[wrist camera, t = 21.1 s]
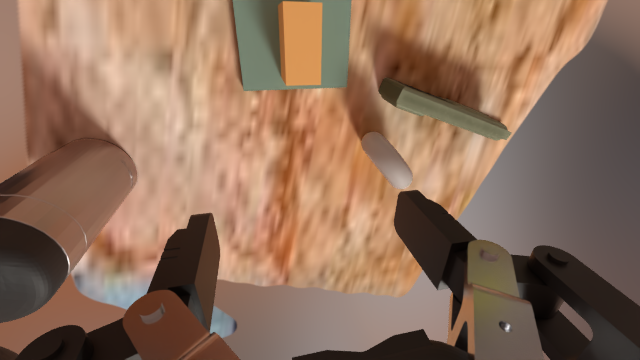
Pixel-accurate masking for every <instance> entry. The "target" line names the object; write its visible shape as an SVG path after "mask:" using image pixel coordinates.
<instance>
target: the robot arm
mask: <svg viewBox="0 0 640 360" xmlns="http://www.w3.org/2000/svg"><path fill="white" fill-rule="evenodd" d="M136 181H137V171H136V167H135V165H134V163H133V161H132V160H131V158H130V157H129V156H128V155H127V154H126V153H125V152H124V151H123V150H121V149H120V148H118V147H117V146H115V145H113V144H111V143H108V142H106V141H102V140H98V139H79V140H75V141H72V142H70V143H68V144H67V145H65V146H63V147H62V148H60V149H59V150H57V151H55V152H50V153H49V154H47V155H46V156H44V157H42V158H41V159H39V160H37V161H36V162H34V163H33V164H31V165H29V166H28V167H26V168H25V169H23V170H22V171H20V172H18V173H17V174H15V175H13V176H12V177H10V178H9V179H7V180H5V181H4V182H2V183H0V323H3V322H8V321H12V320H16V319H19V318H22V317H25V316H27V315H29V314H31V313H33V312H35V311H37V310H38V309H40V308H41V307H42V306H43V305H45V304H46V303H47V302H48V301H49V300H50V299H51V298H52V296H53V295H54V294H55V293H56V291H57V290H58V289H59V288H60V286H61V285H62V283H63V282H64V281H65V279H66V278H67V277H68V275H69V274H70V273H71V271H72V270H73V269H74V267H75V266H76V265H77V263H78V262H79V261H80V259H81V258H82V256H83V255H84V254H85V252H86V251H87V250H88V248H89V247H90V246H91V244H92V243H93V241H94V240H95V239H96V237H97V236H98V235H99V233H100V232H101V231H102V229H103V228H104V227H105V225H106V224H107V223H108V221H109V220H110V218H111V217H112V216H113V214H114V213H115V212H116V210H117V209H118V208H119V206H120V205H121V204H122V202H123V201H124V200H125V198H126V197H127V195H128V194H129V193H130V191H131V190H132V189H133V187H134V186H135V184H136ZM394 226H395V230H396V232H397V234H398V235H399V237H400V238H401V239H402V241H403V242H404V244H405V245H406V246H407V248H408V249H409V251H410V252H411V254H412V255H413V256H414V258H415V259H416V261H417V262H418V263H419V265H420V266H421V268H422V269H423V270H424V272H425V273H426V275H427V276H428V278H429V279H430V280H431V282H432V283H433V285H434V286H435V287H436V289H437V290H442V289H447V288H450V290H451V291H452V294H451V296H450V308H449V324H448V338H447V344H446V343H443V342H439V341H434V340H429V338H428V337H427V335H426V333H425V331H424V330H423V329H421V330H417V331H412V332H408V333H403V334H398V335H394V336H392V337H390V338H388V339H386V340H385V341H383V342H381V343H379V344H378V345H376V346H374V347H372V348H370V349H369V350H367V351H364V352H351V351H331V350H325V351H321V352H316V353H312V354H307V355H303V356H298V357H294V358H292V360H544V356H543V351H544V353H546V355H547V356H548V357H549V358H550V360H640V306H639V305H637V304H636V303H635V302H633V301H632V300H631V299H629V298H628V297H627V296H625V295H624V294H623V293H621V292H620V291H619V290H617V289H616V288H615V287H613V286H612V285H611V284H610V283H608V282H607V281H606V280H604V279H603V278H602V277H600V276H599V275H598V274H596V273H595V272H594V271H592V270H591V269H590V268H588V267H587V266H586V265H584V264H583V263H582V262H580V261H579V260H578V259H576V258H575V257H574V256H572V255H571V254H569V253H567V252H565V251H563V250H561V249H558V248H555V247H551V246H537V247H535V248H534V250H533V251H532V253H531V256H520V255H510V254H509V253H508V251H506V250H505V249H504V248H503V247H501V246H499V245H498V244H495V243H493V242H489V241H486V240H477V239H476V238H475V237H474V236H472V234H471V233H469V232H468V231H467V230H466V229H465V228H464V227H463V226H462V225H461V224H460V223H459V222H458V221H457V220H455V219H454V217H453V216H451V215H450V214H448V212H447V211H446V210H445V209H444V208H443V207H442V206H441V205H439V204H437V203H435V202H434V201H432V200H430V199H429V200H428V199H427V198H426V197H425V196H424V195H423V194H422V193H421V192H420V191H418V190H412V191H403V192H400V193H399V195H398V200H397V206H396V212H395V218H394ZM219 261H220V246H219V240H218V236H217V231H216V227H215V222H214V218H213V214H212V213H205V214H197V215H191V217H190V219H189V223H188V226H187V229H179V230H177V231H176V232H175V233H174V234H173V235H172V236H171V237H170V238H169V239H168V241H167V243H166V246H165V248H164V252H163V253H162V256H161V261H159V264H158V266H157V269H156V271H155V274H154V276H153V279H152V281H151V284H150V286H149V289H148V291H147V294H146V295H144V296H142V297H141V298H139V299H138V300H136V301H135V302H134V303H133V304H132V305H131V306H130V307H129V308H128V310H127V311H126V313H125V315H124V317H123V318H121V319H119V320H117V321H115V322H113V323H111V324H108V325H106V326H103V327H101V328H99V329H96V330H93V331H91V332H89V333H86V332H85V331H84V330H83V328H81V327H80V326H76V325H68V326H63V327H59V328H56V329H53V330H51V331H49V332H47V333H45V334H43V335H41V336H40V337H38V338H37V339H35V340H34V341H33V342H31V343H30V344H29V345H28V346H27V347H26V348H24V349H23V350H22V352H21V353H20V354H19V355H18V354H17V353H15V352H13V351H10V350H9V349H6V348H3V347H0V360H240V359H239V357H238V356H237V355H236V354H235V353H234V352H233V351H232V349H231V348H230V347H229V346H228V345H227V344H226V342H225V341H224V340H223V339H222V338H221V337H220V336H219V335H218V334H217V333H215V332H213V333H212V334H210V326H211V319H212V311H213V304H214V297H215V289H216V282H217V275H218V268H219ZM564 301H565V302H566V303H567V304H568V305H569V306H570V307H572V308H573V309H574V310H575V311H576V312H577V313H578V314H579V315H580V316H581V317H582V318H583V319H584V320H585V321H586V322H587V323H588V324H589V325H590V327H591V329H592V332H593V338H592V340H591V341H589V340H588V339H587V338H586V337H585V336H584V335H583V334H582V333H581V332H580V331H579V330H578V329H577V328H576V327H575V326H574V325H573V324H572V323H571V322H570V321H569V320H568V319H567V318H566V317H565V316H564V315H563V314H562V313H561V312H560V311H559V310H558V309H559V308H560V306H561V305H562V303H563V302H564ZM542 350H543V351H542Z"/></svg>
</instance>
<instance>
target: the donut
mask: <svg viewBox="0 0 640 360" xmlns="http://www.w3.org/2000/svg"><path fill="white" fill-rule="evenodd" d="M361 145H362V148H363V150H364V151H365V153H366V154H367V155H368V157H369V158H370V159H371V160H372V162H373V163H374V164H375V165H376V167H377V168H378V169H379V170H380V172H381V173H382V174H383V175H384V176H385V178H386V179H387V180H388V181H389V182H390V184H391V185H392V186H393V187H395V188H397V189H405V188H407V187H408V186H409V185H410V184H411V182H412V179H413V175H412V172H411V170H410V168H409V167H408V165H407V164H406V162H405V161H404V159H403V158H402V157H401V155H400V154H399V153H398V152H397V150H396V149H395V148H394V147H393V146H392V145H391V144H390V142H389V141H388V140H387V139H386V138H385V137H384V136H382V135H381V134H380V133H378V132H369V133H367V134H365V135H364V137H363V138H362V141H361Z"/></svg>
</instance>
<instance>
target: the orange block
mask: <svg viewBox="0 0 640 360" xmlns="http://www.w3.org/2000/svg"><path fill="white" fill-rule="evenodd" d="M278 19H279V40H280V62H281V78H282V80H283V81H284V83H285V85H286V86H295V85H321V56H322V3H319V2H293V1H282V2H281V3H280V4H279V5H278Z"/></svg>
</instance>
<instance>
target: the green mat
mask: <svg viewBox="0 0 640 360" xmlns="http://www.w3.org/2000/svg"><path fill="white" fill-rule="evenodd" d="M282 1H293V2H319V3H322V56H321V85H295V86H286V85H285V83H284V81H283V80H282V78H281V62H280V40H279V19H278V5H279V4H280V3H281V2H282ZM233 8H234V16H235V24H236V32H237V40H238V49H239V57H240V65H241V73H242V81H243V89H244V91H255V90H283V89H311V88H339V87H347V77H348V57H349V37H350V17H351V0H233Z"/></svg>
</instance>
